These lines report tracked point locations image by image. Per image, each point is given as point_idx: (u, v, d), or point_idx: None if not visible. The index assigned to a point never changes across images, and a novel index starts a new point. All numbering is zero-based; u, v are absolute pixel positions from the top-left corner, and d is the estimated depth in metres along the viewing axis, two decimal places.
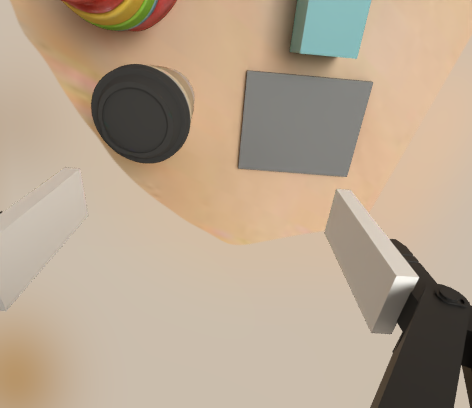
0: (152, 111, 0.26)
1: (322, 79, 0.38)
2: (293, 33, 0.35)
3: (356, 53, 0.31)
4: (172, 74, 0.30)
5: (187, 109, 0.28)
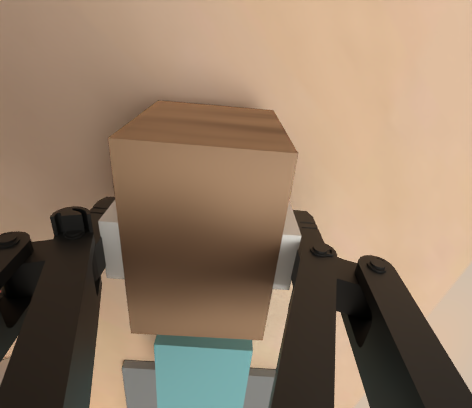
0: None
1: None
2: None
3: None
4: None
5: None
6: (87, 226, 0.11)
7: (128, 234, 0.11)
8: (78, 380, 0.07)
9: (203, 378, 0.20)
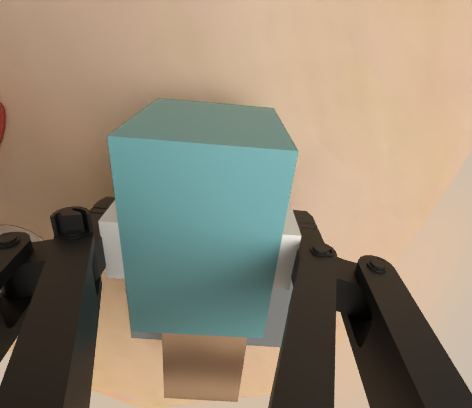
0: None
1: None
2: None
3: (260, 331, 0.14)
4: None
5: None
6: (87, 226, 0.11)
7: (167, 354, 0.22)
8: (78, 380, 0.07)
9: (205, 222, 0.11)
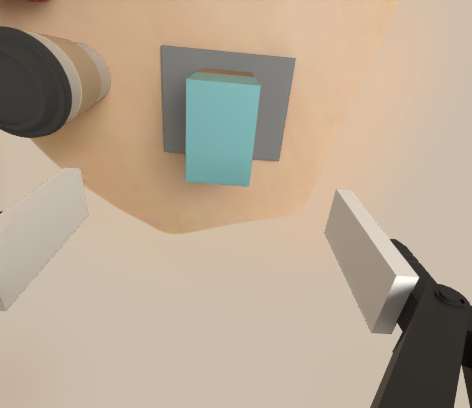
0: (19, 78, 0.24)
1: (241, 55, 0.36)
2: None
3: (247, 182, 0.28)
4: (58, 42, 0.28)
5: (65, 78, 0.26)
6: None
7: None
8: None
9: (222, 119, 0.25)
